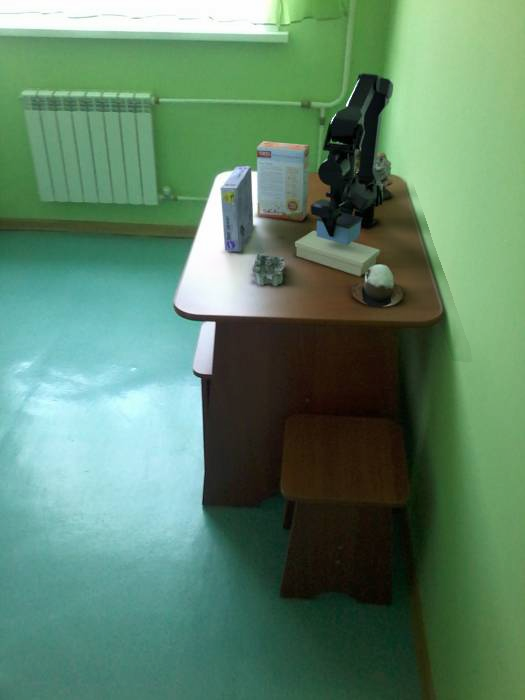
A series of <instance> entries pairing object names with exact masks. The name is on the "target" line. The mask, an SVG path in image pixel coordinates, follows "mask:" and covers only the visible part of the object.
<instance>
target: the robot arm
mask: <svg viewBox="0 0 525 700" xmlns="http://www.w3.org/2000/svg"><path fill="white" fill-rule="evenodd" d="M393 92H394V84H393V82H392V81H391V79H389V78H387V77H386V78H385V77H382V76H381V75H378V73H370V72H369V73H366V72H361V73H359V74H358V76H357V79H356V85H355V86H354V89H353V91H352V93H351V95H350V97H349V99H348V101H347V103H346V105H345V107H344V108H343V109H340V110H338V111H336V113H335V114H334V115H333V117H332V119H331V120H330V121H329V122H328V126H327V129H326V134H325V138H324V142H323V145H322V151H326V152H328V154H327V157H326V159H325V160H324V161H323V162H322V163H320V165H319V167H318V169H317V175H318V177H319V180H320V181H321V183H323V184H324V185H326V186H329V190H328V191H327V192H325V197H326V198H330V200H328V199H324V198H320V199H318V200H316V201H315V202H313V203H312V204H311V205H310V209H309V211H310V215H313V216H316V217H318V216H319V217H320V218H321V219H322V221H323V223H324V226H325V228H326V230H327V232H328V235H329V236H330V237H333V236H334V233H335V228H336V222H337V218H339V217H340V216H341V215H342V214H341V213H339V212H343V213H347V214H350V215H354V216H358V217H361V218H362V221H361V227H363V228H366V229H368V228H371V227H372V226H373V225H375V224H377V223H378V222H379V218H376V217H375V210H376V208H378V207H380V206H383V201H384V200H383V192H382V188H381V186H380V176H379V174H378V172H377V170H376V160H377V152H379V151H378V150H379V141H380V131H381V122H382V115H383V112H384V111H385V109H386V108H387V107H388V105H389V104H390V99H391V98H392V97H393ZM360 147H361V153H360V163H359V170H358V171H357V173H356V174H355V162H356V153H357V151H358V149H360ZM354 174H355V175H354Z"/></svg>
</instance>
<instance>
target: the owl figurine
mask: <svg viewBox="0 0 525 700" xmlns="http://www.w3.org/2000/svg"><path fill="white" fill-rule="evenodd" d="M360 153H361V147H360V149H358V151H357V153H356V162H355V174H356V173H357V171H358V170H359V163H360ZM376 170H377V172H378V174H379V176H380V186H381V188H382V192H383V201H385V200H388V199H389V198H390V197H391V191H390V190H389V189H388V188H387V187H389V186H391V185H393V180H392V179H388V178H389V177H390V176H391V172H392V171H391V170H392V162H391V161H390V160H389V159H388V157H387V154H386V153H385V152H383V151H377V160H376ZM355 174H354V175H355Z"/></svg>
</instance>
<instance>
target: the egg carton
mask: <svg viewBox="0 0 525 700" xmlns="http://www.w3.org/2000/svg"><path fill="white" fill-rule="evenodd" d="M255 256H256V257H255V260H254V263H253V267H252V273H253V276H254V283H256V284H258V285H259V286H264V285H265V284H271V285H272V286H274V287H277V286H278V285H280V284H282V283H283V280H284V276H283V275H284V269H285V266H286V263H285V259H284V256H280V257H278V255H272V254H261V253H256V255H255Z"/></svg>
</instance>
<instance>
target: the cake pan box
mask: <svg viewBox="0 0 525 700" xmlns="http://www.w3.org/2000/svg"><path fill="white" fill-rule="evenodd" d="M252 177H253V176H252V166H247V165H246V166H235V168H234V169H233V170H232V172H231V173H230V175H229V176H228V177H227V178H226V180H225V182H224V183H223V184H222V186H221V187H220V199H221V200H220V201H221V214H222V227H223V228H222V229H223V242H224V251H225V252H233V253H241V252H242V250H243V247H244V246H245V244H246V243H247V241H248V239H249V237H250V235H251V232H252V230H253V228H254V207H253V205H254V203H253V187H252V186H253V183H252Z"/></svg>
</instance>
